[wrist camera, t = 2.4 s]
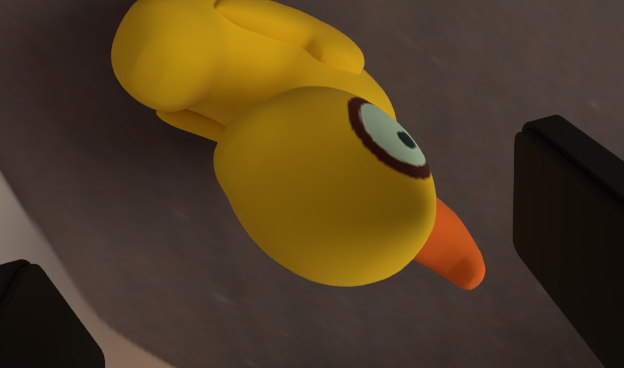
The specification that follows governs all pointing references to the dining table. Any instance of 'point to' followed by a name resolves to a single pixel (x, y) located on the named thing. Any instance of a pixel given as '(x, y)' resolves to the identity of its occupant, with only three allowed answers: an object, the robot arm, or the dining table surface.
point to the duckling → (295, 138)
